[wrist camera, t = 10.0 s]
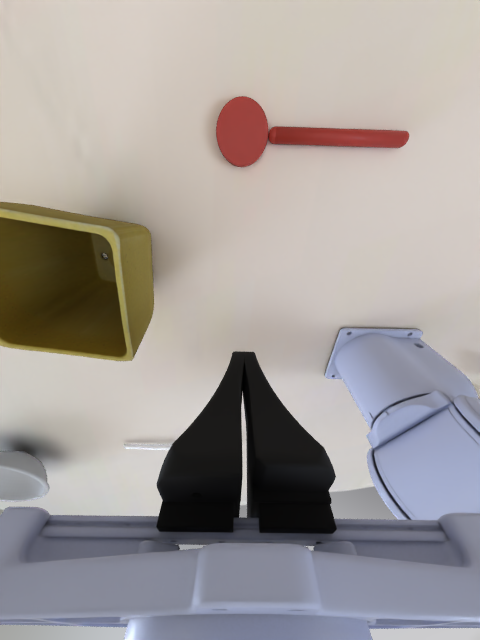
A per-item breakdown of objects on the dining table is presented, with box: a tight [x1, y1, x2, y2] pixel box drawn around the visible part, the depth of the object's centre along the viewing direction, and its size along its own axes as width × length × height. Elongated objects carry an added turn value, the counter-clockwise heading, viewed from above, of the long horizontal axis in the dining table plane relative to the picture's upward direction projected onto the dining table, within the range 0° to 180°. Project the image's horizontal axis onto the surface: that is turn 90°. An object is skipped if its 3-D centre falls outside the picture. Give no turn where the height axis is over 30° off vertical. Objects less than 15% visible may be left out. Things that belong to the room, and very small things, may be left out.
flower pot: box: [0, 202, 154, 361], centre depth 15 cm, size 9×9×9 cm
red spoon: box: [216, 96, 409, 167], centre depth 14 cm, size 14×4×1 cm, turn 89°
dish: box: [0, 451, 50, 502], centre depth 36 cm, size 18×14×5 cm
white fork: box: [124, 444, 172, 450], centre depth 35 cm, size 3×20×2 cm, turn 89°
